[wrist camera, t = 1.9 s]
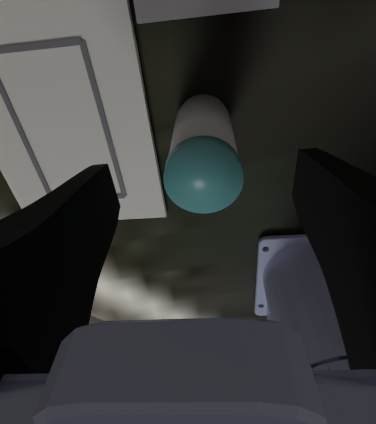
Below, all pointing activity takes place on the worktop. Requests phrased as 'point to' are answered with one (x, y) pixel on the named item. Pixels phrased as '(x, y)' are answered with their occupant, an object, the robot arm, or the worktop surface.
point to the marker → (203, 157)
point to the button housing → (194, 8)
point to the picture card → (75, 101)
